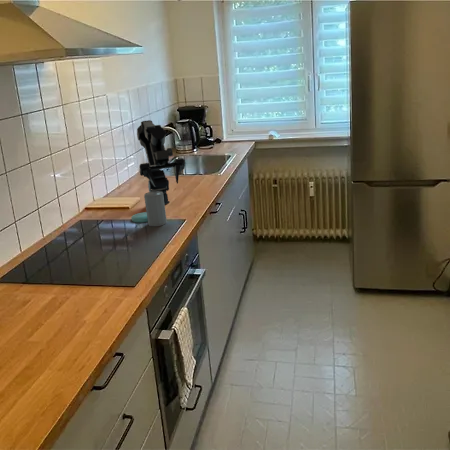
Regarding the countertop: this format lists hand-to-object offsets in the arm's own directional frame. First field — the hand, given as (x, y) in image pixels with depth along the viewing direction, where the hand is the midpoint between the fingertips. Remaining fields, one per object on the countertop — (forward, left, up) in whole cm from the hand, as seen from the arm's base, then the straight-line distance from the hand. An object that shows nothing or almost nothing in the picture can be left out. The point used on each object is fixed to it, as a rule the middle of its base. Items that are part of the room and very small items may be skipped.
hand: (166, 184), depth 209 cm
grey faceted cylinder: (-2, -7, -14) cm, 16 cm away
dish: (-11, -3, -14) cm, 18 cm away
